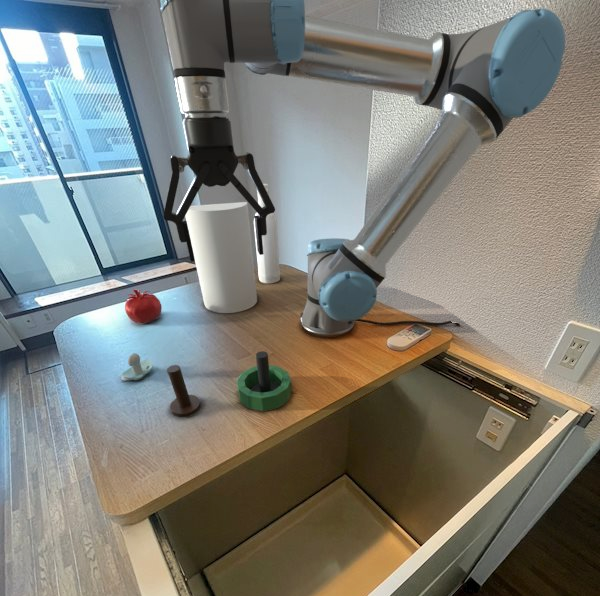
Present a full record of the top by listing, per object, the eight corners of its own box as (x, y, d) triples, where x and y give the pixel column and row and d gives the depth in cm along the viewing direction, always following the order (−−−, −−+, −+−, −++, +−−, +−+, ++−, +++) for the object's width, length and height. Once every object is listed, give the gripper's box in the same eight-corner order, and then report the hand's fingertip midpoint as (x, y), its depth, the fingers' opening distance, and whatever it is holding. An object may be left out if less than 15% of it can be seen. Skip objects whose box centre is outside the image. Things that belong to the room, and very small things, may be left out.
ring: (284, 374, 77) (283, 361, 74) (296, 404, 68) (296, 391, 66) (236, 382, 74) (234, 369, 72) (243, 415, 66) (241, 401, 64)
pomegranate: (170, 317, 99) (162, 287, 93) (140, 330, 94) (129, 299, 87) (153, 308, 104) (143, 279, 98) (123, 319, 98) (111, 289, 92)
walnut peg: (200, 396, 71) (189, 357, 64) (201, 414, 67) (189, 374, 60) (171, 401, 70) (157, 362, 63) (170, 419, 65) (155, 380, 59)
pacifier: (116, 381, 76) (135, 387, 73) (104, 358, 72) (124, 364, 69) (140, 364, 81) (158, 369, 78) (130, 342, 77) (149, 347, 74)
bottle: (281, 276, 124) (276, 182, 105) (278, 284, 118) (273, 186, 99) (261, 275, 125) (252, 182, 105) (257, 283, 119) (247, 186, 99)
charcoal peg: (276, 382, 74) (273, 344, 68) (282, 399, 70) (279, 360, 63) (250, 387, 73) (244, 349, 67) (254, 404, 69) (249, 365, 62)
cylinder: (262, 308, 103) (252, 207, 85) (206, 316, 99) (184, 212, 81) (252, 288, 116) (242, 196, 97) (202, 294, 112) (182, 200, 94)
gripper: (118, 117, 47) (161, 268, 60) (287, 115, 51) (291, 255, 65) (125, 117, 52) (163, 256, 66) (277, 115, 57) (283, 244, 71)
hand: (227, 256), depth 66 cm, fingers open, 13 cm apart
